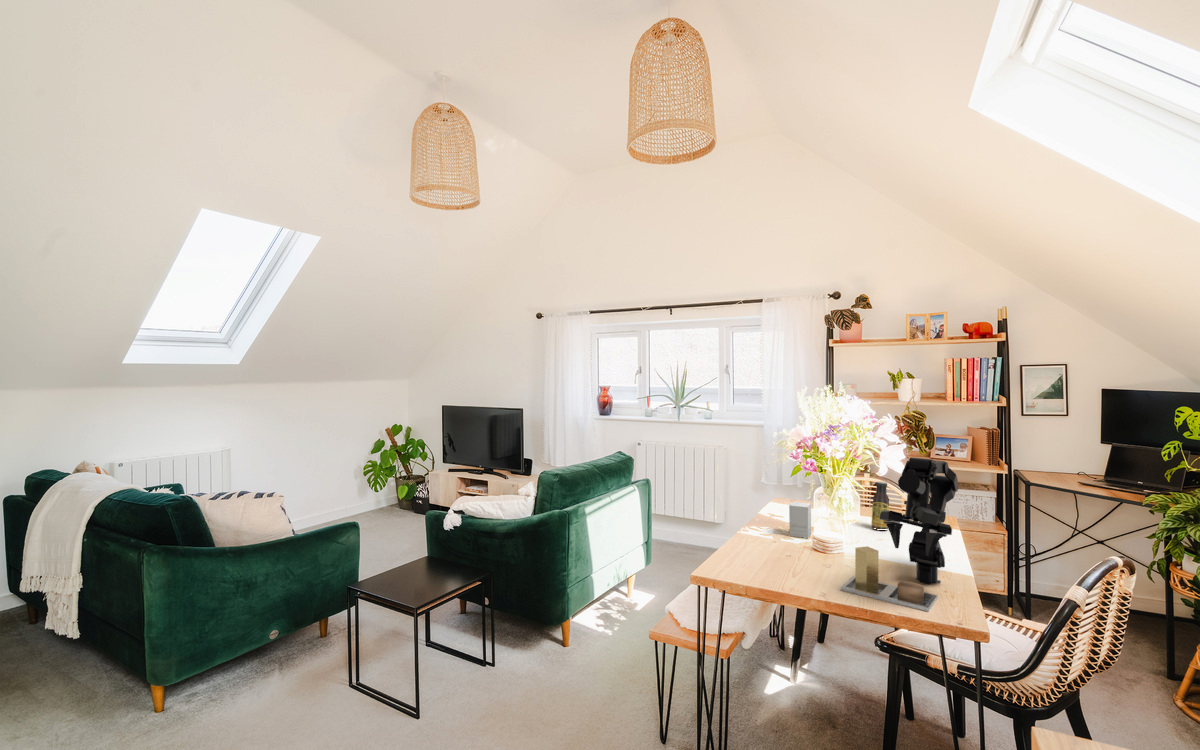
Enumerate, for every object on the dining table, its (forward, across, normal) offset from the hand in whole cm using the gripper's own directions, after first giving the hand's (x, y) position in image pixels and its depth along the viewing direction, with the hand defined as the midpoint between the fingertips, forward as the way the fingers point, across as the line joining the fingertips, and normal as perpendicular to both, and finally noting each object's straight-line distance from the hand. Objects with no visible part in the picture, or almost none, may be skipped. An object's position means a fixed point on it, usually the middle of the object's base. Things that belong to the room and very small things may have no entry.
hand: (912, 552), depth 166 cm
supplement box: (0, -10, +64) cm, 65 cm away
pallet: (+14, -4, +2) cm, 15 cm away
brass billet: (+14, -9, +6) cm, 17 cm away
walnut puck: (+13, 0, -2) cm, 13 cm away
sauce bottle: (-11, +25, +71) cm, 76 cm away
